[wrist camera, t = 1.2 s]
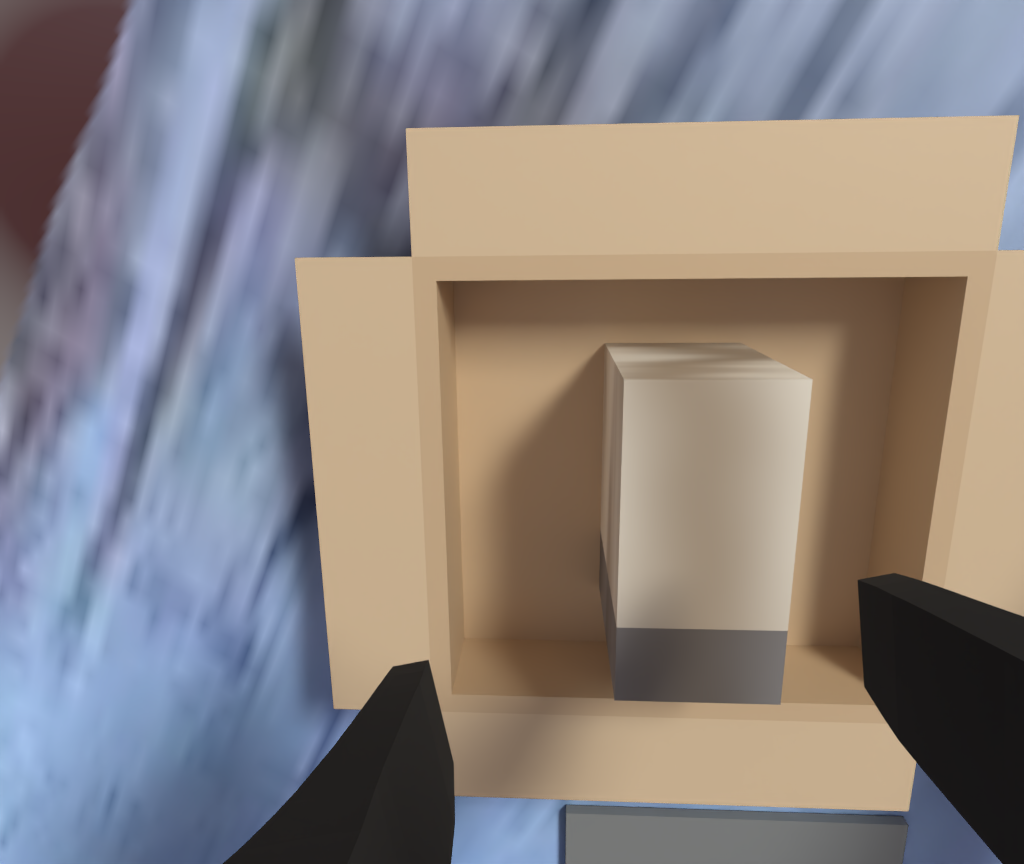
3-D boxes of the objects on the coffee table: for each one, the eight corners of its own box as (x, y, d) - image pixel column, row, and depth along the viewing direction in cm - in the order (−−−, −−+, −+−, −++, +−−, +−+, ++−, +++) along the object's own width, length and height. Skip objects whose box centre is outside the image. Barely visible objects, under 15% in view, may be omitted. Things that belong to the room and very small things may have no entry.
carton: (1051, 136, 19) (1156, 112, 16) (948, 735, 24) (1012, 814, 21) (328, 150, 20) (283, 130, 17) (369, 719, 25) (341, 791, 22)
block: (740, 342, 21) (812, 379, 15) (722, 588, 23) (780, 704, 17) (604, 343, 21) (624, 379, 15) (599, 586, 23) (614, 700, 17)
